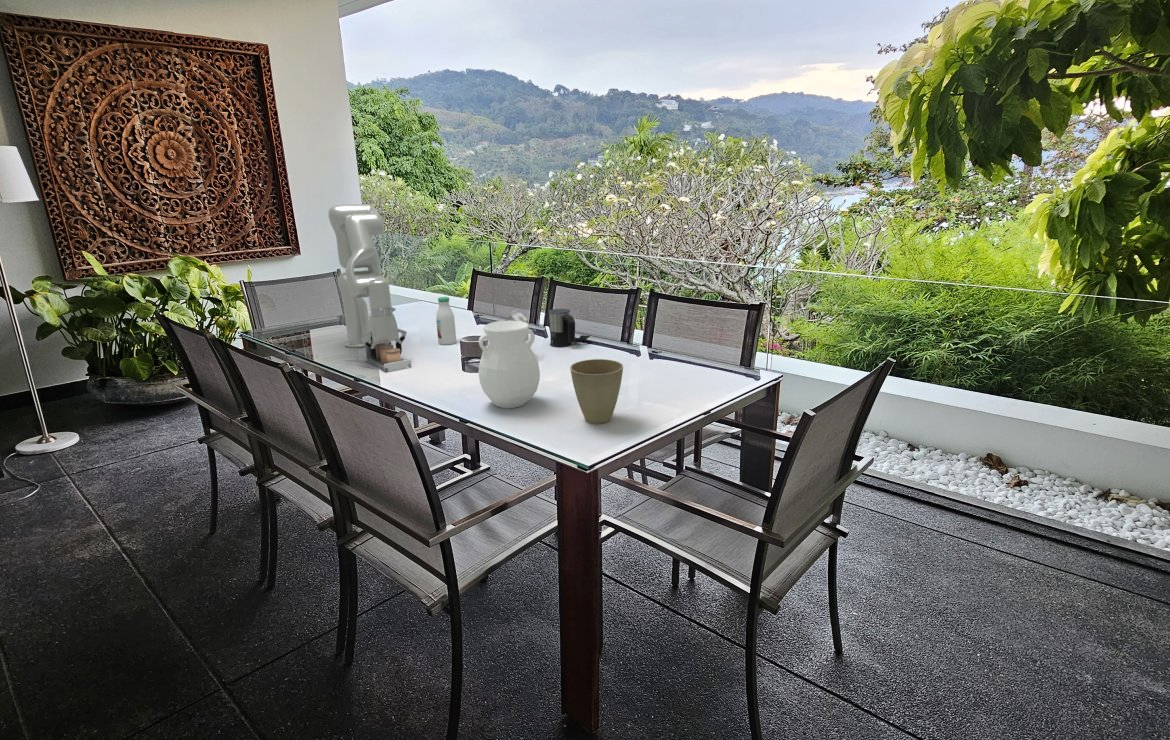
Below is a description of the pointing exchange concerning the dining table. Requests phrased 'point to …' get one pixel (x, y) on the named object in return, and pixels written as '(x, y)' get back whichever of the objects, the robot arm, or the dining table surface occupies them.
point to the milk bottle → (445, 322)
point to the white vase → (508, 364)
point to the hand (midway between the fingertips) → (386, 355)
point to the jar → (384, 353)
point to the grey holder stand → (388, 366)
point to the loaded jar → (393, 355)
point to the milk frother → (562, 328)
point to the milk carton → (518, 319)
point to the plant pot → (597, 387)
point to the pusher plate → (379, 350)
